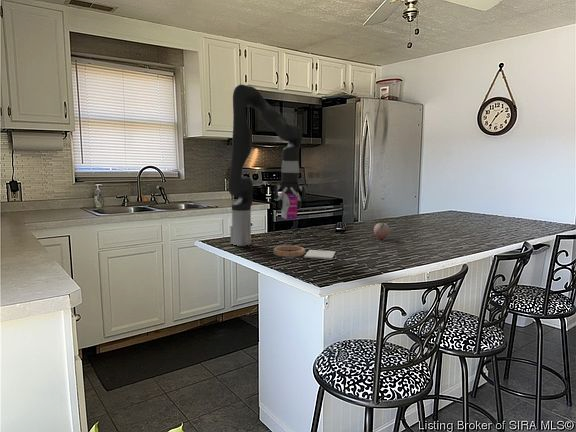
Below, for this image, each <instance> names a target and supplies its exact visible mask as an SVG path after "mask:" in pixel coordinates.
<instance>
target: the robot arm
mask: <svg viewBox="0 0 576 432" xmlns="http://www.w3.org/2000/svg"><path fill="white" fill-rule="evenodd" d="M267 101H268V100H266V99H265V98H264V97H263V96H262V94H261V93H260V92H259V90H257V88H256V87H253V86H251V85H246V84H242V83H241V84H240V83H239V84H237V85H235V87H234V89H233V93H232V111H233V112H232V113H233V117H232V119H233V121H232V123H233V124H232V128H233V129H232V136H231V137H232V139H231V142H232V143H231V158H230V168H229V172H228V173H229V174H228V180H227V189H228V192H229V194H230V195H231V196H232V197H237V200H236V201H234V202H233V203H232V204H231V225H230V227H229V228H230V232H229V233H230V245H231V244H233V245H232V246H234V245H237V247H246V245H248V246H250V244H251V245H252V217H251V216H252V210H251V209H252V205H253V198H254V197H253V194H254V186H253V185H254V184H253V181H252V179H251V178H250V177H248V176H242V175H243V174H242V173H243V169H244V165H245V163H246V161H247V159H248V158H249V155H250V154H251V151H252V148H253V147H252V146H253V145H252V144H253V135H252V134H253V133H252V130H251V128H250V124H249V122H248V119H247V107H248V108H249V107H250V108H253V110H254V109H255V110H256V111H257V112H259V114H260V116H261V118H262V120H263V121H264V122H265V123H266V124H267V125H268V126H269V127H270V128H272V129H273V130H274V133H276V135H277V136H278V137H279V138H280V139H281V140H282V141H284V142H288V143H287V145H286V147H283V148H282V152H281V154H282V155H281V157H282V158H281V159H282V160H281V161H282V162H281V176H280V177H281V178H280V179H281V184H274V186H273V199H276V200H277V207H278V208H279V209H281V210H282V196H283V195H284V193H286V194H296V196H298V198H297V199H298V201H297V210H300V209H301V207H302V201H303V200H306V198H307V197H306V196H307V195H306V194H307V193H306V192H307V186H306V185H299V182H300V181H299V177H300V175H299V174H300V165H299V156H300V155H299V152H300V148H301V143H302V140H303V131H302V128H301V127H300V125H299V126H298V125H295V124H289V123H287V118H285V116H284V115H282V114H281V112H279V111H278V110H277V109H275V108H274V107H273V106H271V104H270V103H268V102H267ZM280 189H281V191H282V192H281V193H280V194H279V190H280ZM299 190H300V191H301V195H300V194H299V192H298V191H299Z"/></svg>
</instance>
